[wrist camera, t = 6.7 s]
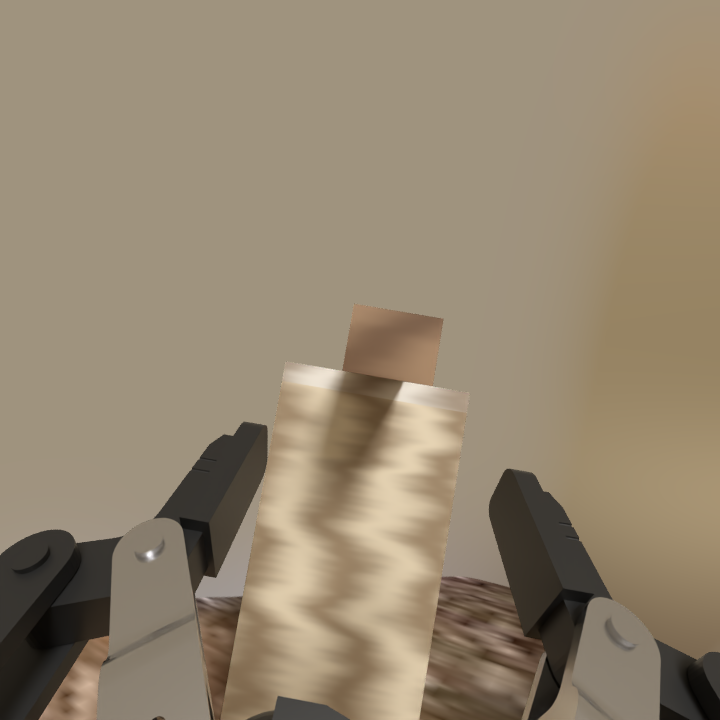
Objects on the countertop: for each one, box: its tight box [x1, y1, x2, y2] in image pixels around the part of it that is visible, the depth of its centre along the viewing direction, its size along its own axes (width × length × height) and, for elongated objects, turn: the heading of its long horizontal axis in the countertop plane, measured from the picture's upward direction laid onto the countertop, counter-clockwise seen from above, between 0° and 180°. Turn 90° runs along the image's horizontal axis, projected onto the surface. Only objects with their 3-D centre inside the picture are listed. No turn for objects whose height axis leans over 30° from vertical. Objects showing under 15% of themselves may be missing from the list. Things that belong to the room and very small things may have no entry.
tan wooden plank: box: [342, 304, 443, 386], centre depth 27 cm, size 5×25×3 cm, turn 179°
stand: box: [220, 361, 470, 720], centre depth 31 cm, size 14×16×32 cm
